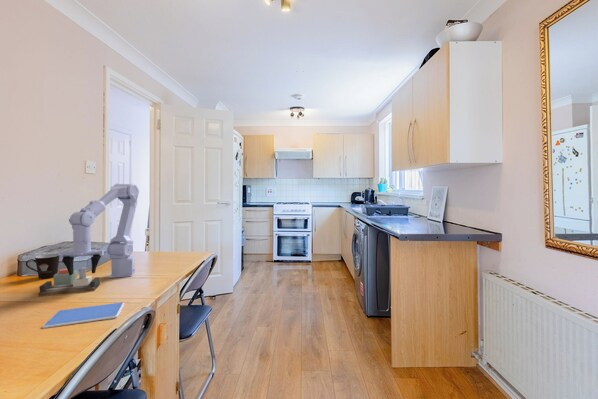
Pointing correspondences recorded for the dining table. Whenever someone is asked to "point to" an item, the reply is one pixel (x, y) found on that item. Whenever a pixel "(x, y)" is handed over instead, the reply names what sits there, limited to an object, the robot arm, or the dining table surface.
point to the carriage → (82, 278)
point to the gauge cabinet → (64, 278)
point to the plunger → (63, 271)
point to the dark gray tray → (67, 288)
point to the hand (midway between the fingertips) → (82, 273)
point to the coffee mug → (46, 265)
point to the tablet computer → (84, 315)
